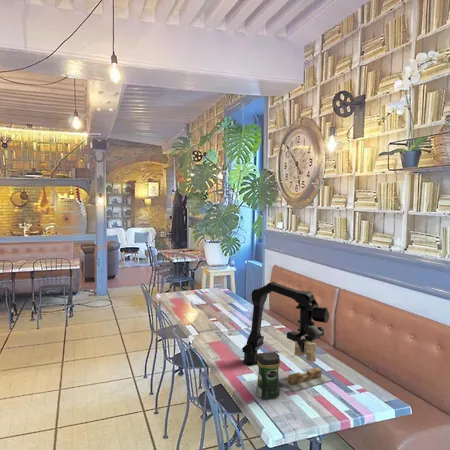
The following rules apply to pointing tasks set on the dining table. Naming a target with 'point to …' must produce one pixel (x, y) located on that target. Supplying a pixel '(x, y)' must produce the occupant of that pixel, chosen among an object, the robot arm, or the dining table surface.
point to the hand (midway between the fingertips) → (305, 351)
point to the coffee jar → (268, 375)
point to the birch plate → (307, 350)
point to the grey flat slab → (304, 380)
